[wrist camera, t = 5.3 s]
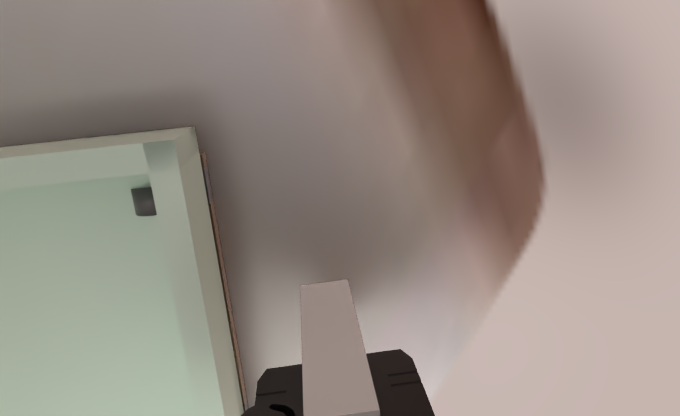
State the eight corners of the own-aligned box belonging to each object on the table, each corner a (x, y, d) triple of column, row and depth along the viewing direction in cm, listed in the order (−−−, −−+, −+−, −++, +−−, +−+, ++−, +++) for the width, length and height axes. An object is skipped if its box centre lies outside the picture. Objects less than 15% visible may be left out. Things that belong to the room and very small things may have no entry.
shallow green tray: (-242, 173, 16) (-358, 197, 13) (194, 126, 17) (173, 139, 14) (-103, 521, 20) (-172, 600, 17) (254, 471, 20) (247, 539, 18)
